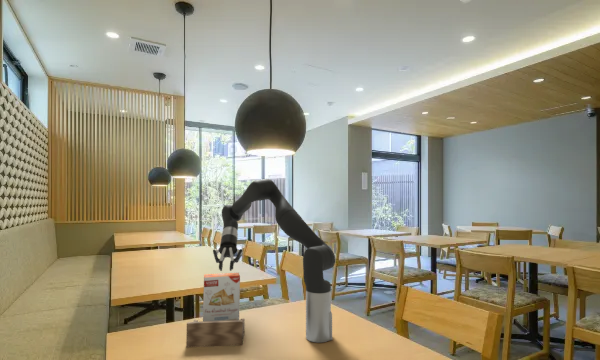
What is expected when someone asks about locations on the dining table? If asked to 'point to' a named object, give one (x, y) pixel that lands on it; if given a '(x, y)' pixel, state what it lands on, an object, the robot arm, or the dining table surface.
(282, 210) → the robot arm
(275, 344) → the dining table surface
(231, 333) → the walnut rack
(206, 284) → the cracker box
